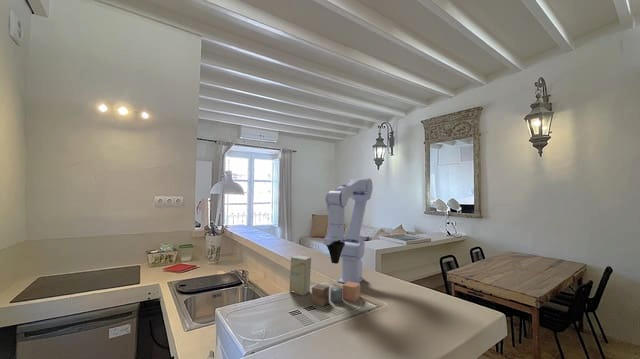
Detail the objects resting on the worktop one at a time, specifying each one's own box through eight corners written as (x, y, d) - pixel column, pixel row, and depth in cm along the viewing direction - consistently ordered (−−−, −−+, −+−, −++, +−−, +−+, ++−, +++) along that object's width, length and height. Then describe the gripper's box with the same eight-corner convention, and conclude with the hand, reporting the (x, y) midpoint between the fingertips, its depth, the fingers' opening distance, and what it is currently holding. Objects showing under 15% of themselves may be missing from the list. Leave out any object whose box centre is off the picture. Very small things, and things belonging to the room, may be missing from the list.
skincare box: (289, 292, 88) (289, 257, 88) (296, 288, 92) (296, 254, 92) (304, 295, 85) (305, 259, 85) (310, 291, 89) (311, 256, 89)
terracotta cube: (347, 294, 87) (348, 281, 87) (360, 297, 85) (360, 283, 85) (342, 298, 83) (342, 285, 83) (355, 301, 81) (355, 287, 81)
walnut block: (318, 299, 82) (318, 283, 83) (328, 301, 80) (329, 286, 81) (311, 303, 79) (312, 287, 79) (322, 306, 77) (323, 290, 77)
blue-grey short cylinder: (333, 296, 84) (333, 286, 85) (344, 299, 82) (344, 288, 83) (328, 301, 81) (328, 290, 81) (339, 303, 79) (339, 292, 79)
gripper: (337, 226, 81) (336, 269, 80) (353, 223, 94) (353, 260, 92) (318, 224, 85) (317, 265, 83) (337, 222, 97) (336, 258, 96)
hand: (335, 262), depth 88 cm, fingers closed
